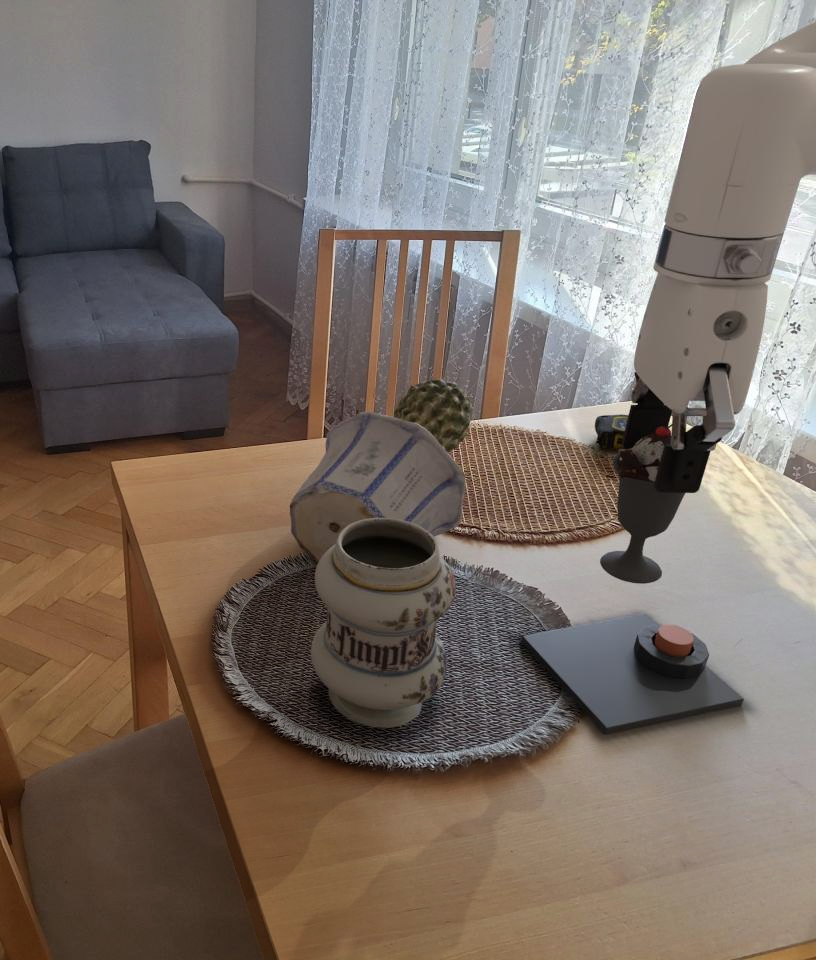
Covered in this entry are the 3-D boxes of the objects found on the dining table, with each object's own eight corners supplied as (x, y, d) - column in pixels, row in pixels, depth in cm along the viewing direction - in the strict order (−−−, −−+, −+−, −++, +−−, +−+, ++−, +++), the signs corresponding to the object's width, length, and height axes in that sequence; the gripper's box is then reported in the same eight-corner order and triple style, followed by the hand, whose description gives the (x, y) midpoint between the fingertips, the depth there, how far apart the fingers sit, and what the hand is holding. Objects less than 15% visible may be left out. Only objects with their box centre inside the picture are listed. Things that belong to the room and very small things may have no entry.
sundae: (675, 558, 77) (720, 404, 70) (669, 598, 72) (716, 436, 65) (595, 540, 80) (630, 391, 73) (584, 576, 75) (620, 420, 68)
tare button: (674, 634, 83) (678, 622, 82) (697, 654, 81) (701, 641, 80) (647, 640, 83) (650, 627, 82) (669, 660, 80) (673, 647, 79)
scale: (645, 623, 89) (652, 599, 87) (743, 711, 78) (754, 684, 76) (519, 647, 86) (524, 622, 85) (602, 741, 75) (610, 714, 74)
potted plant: (415, 508, 83) (524, 347, 100) (259, 466, 93) (381, 327, 110) (422, 627, 94) (520, 464, 110) (282, 578, 104) (390, 436, 121)
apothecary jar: (325, 648, 87) (335, 495, 79) (447, 676, 83) (472, 518, 74) (293, 730, 78) (300, 567, 69) (429, 767, 74) (455, 597, 65)
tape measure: (591, 432, 128) (596, 409, 126) (642, 438, 125) (648, 415, 124) (593, 453, 122) (598, 429, 120) (647, 459, 120) (653, 435, 118)
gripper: (837, 287, 54) (755, 525, 63) (718, 225, 70) (665, 424, 78) (712, 287, 55) (648, 522, 64) (620, 226, 70) (578, 423, 79)
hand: (657, 467), depth 71 cm, fingers closed on sundae, 6 cm apart
